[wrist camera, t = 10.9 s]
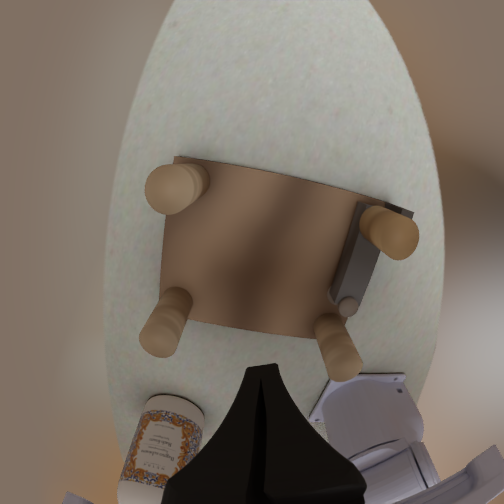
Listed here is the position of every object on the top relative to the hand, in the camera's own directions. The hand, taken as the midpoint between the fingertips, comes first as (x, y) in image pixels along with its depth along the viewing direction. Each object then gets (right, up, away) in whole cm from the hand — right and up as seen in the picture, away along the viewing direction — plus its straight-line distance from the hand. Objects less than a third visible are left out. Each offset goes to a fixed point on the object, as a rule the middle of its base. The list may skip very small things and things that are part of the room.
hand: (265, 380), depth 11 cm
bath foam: (-9, -12, +15) cm, 21 cm away
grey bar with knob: (+7, +6, +7) cm, 11 cm away
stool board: (+1, +5, +9) cm, 10 cm away
